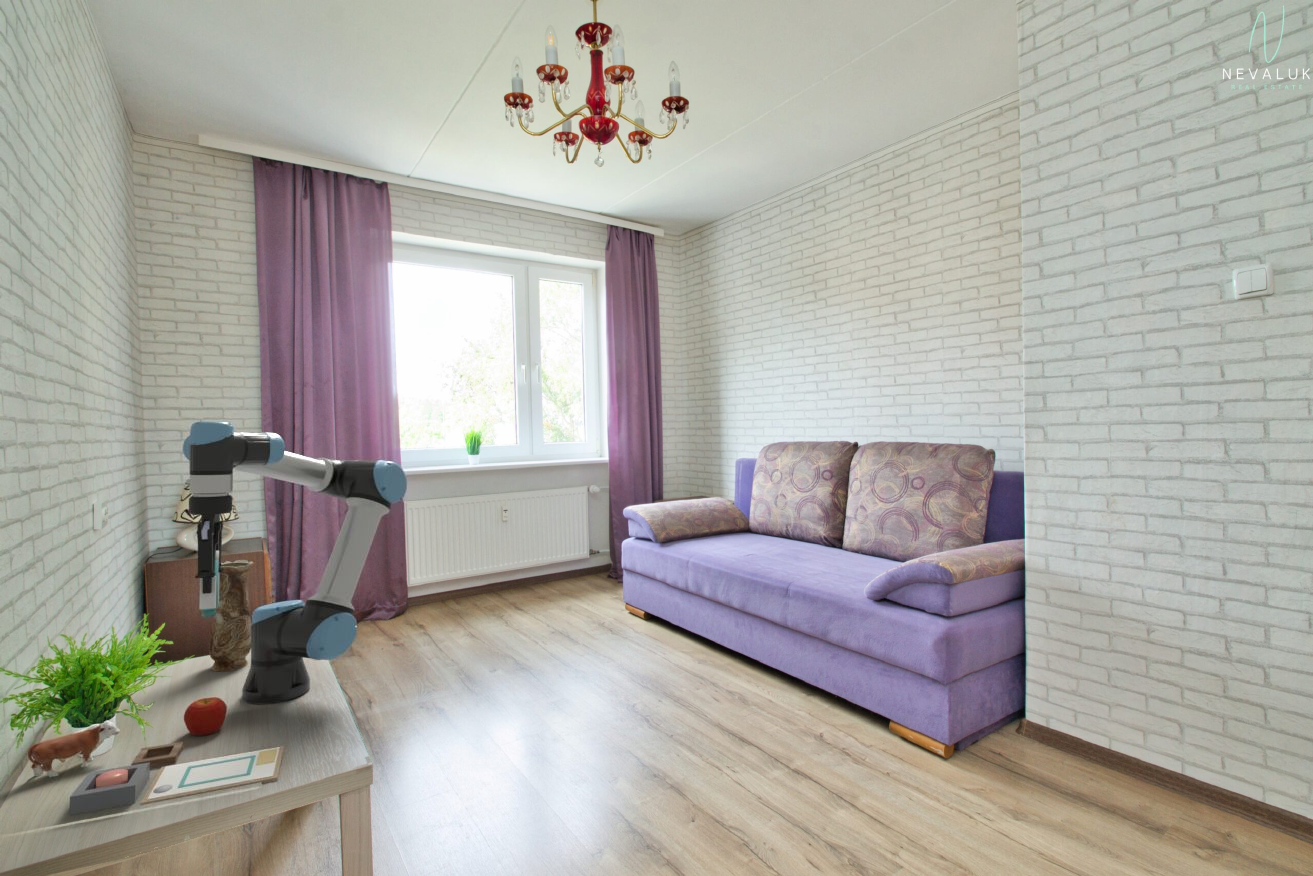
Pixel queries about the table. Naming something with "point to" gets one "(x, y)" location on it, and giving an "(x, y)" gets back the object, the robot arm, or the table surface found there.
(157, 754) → the marker holder
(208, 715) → the apple
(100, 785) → the button
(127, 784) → the button housing
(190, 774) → the colouring sheet
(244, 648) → the vase
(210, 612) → the marker
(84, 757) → the bull figurine
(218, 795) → the table surface
